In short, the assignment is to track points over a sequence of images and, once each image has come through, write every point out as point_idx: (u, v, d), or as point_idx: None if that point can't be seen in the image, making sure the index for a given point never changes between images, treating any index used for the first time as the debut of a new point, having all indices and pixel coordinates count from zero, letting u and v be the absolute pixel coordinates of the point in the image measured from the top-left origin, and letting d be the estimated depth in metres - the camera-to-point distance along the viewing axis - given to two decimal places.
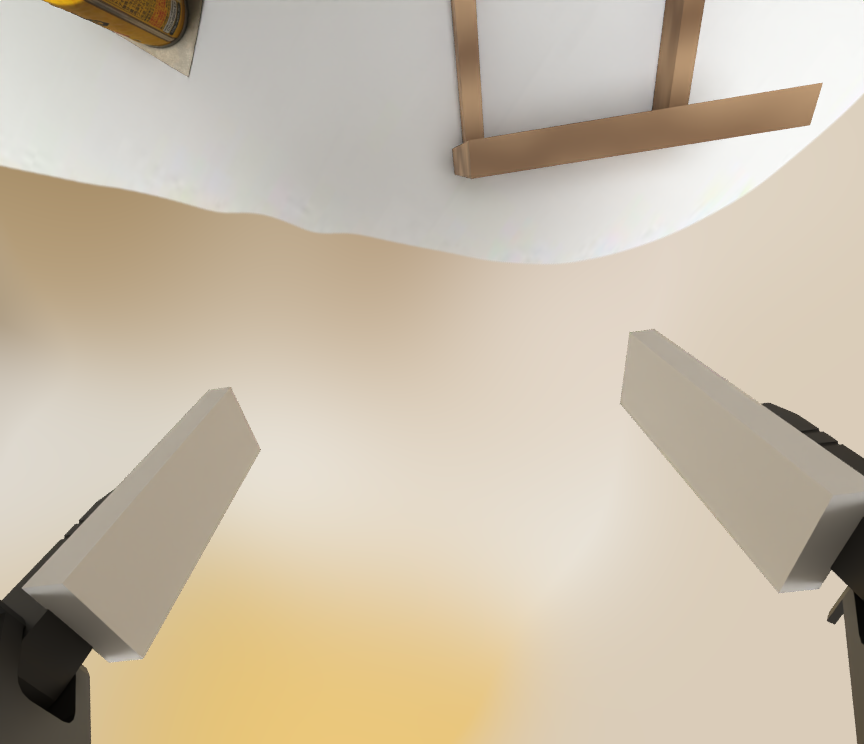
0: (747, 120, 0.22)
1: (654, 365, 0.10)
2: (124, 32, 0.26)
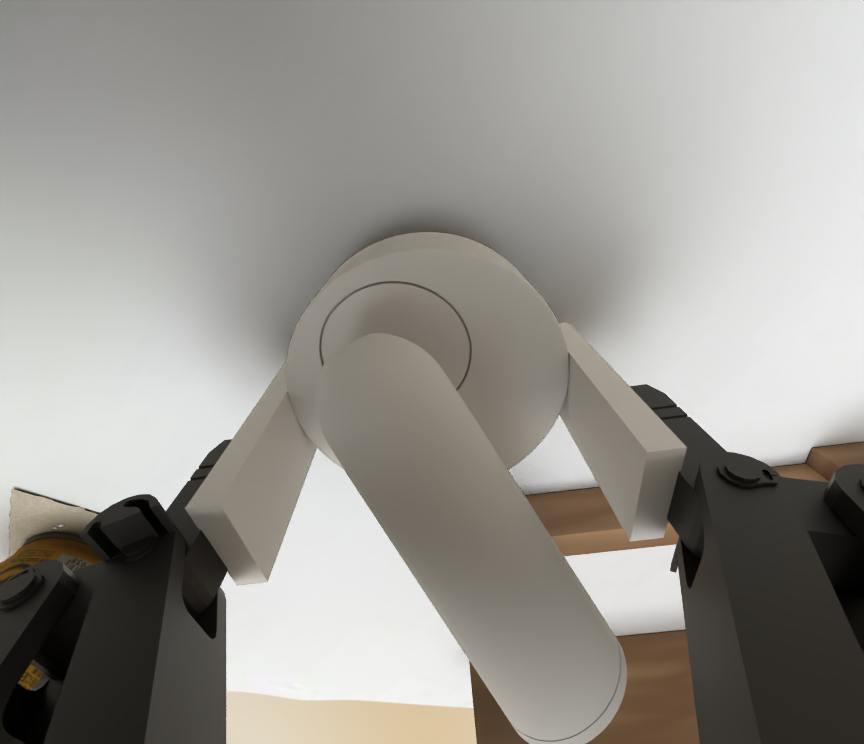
0: None
1: None
2: None
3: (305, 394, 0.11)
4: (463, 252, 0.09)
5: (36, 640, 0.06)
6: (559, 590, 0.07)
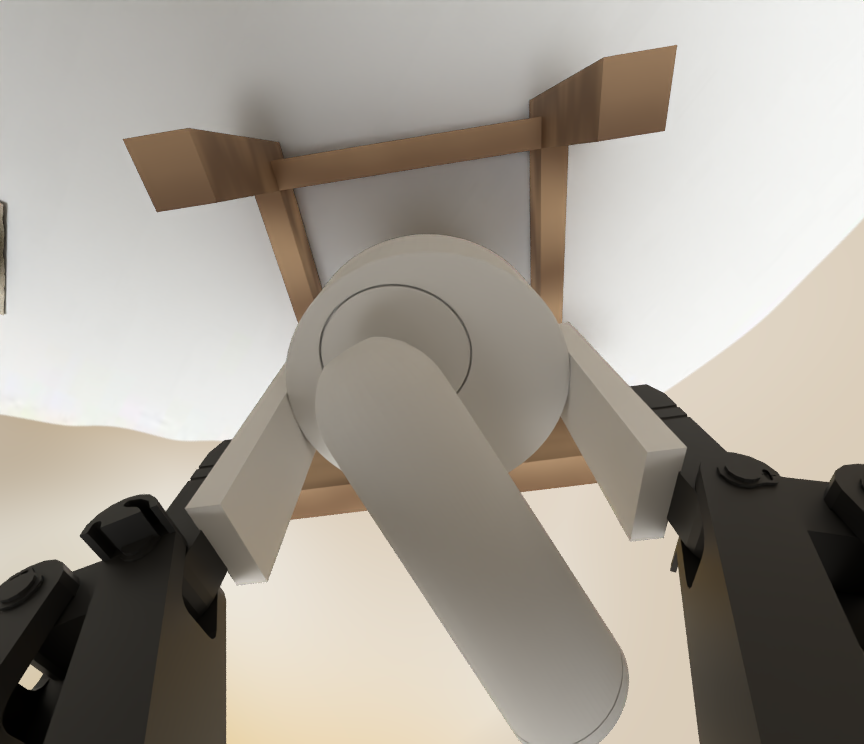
0: (574, 475, 0.18)
1: None
2: None
3: (305, 397, 0.11)
4: (463, 255, 0.09)
5: (36, 640, 0.06)
6: (560, 596, 0.07)
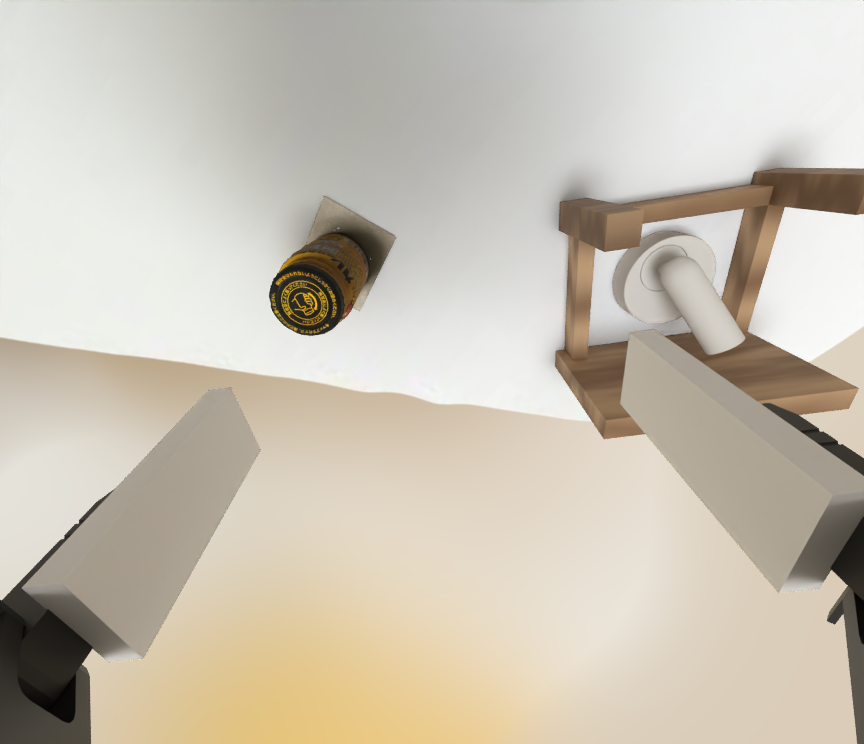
0: (804, 407, 0.30)
1: (654, 365, 0.10)
2: None
3: (631, 282, 0.36)
4: (693, 236, 0.34)
5: None
6: None
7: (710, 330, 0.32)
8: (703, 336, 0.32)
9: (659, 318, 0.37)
